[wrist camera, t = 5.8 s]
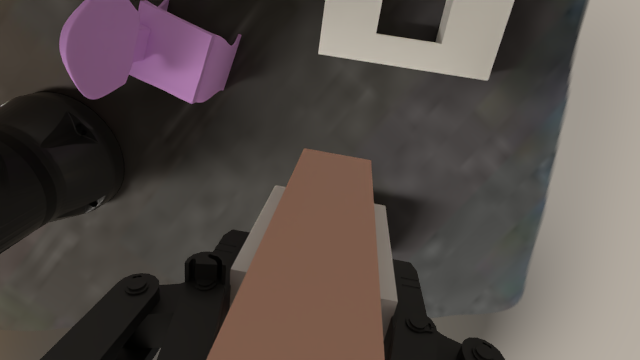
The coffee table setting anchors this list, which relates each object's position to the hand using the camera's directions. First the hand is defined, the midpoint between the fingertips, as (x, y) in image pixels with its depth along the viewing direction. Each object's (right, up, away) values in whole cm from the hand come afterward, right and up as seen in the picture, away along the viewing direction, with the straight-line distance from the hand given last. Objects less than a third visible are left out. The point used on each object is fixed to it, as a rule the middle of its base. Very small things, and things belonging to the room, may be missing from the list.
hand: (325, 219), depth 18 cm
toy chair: (-13, +16, +20) cm, 29 cm away
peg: (0, +2, +4) cm, 4 cm away
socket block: (+9, +19, +16) cm, 26 cm away
